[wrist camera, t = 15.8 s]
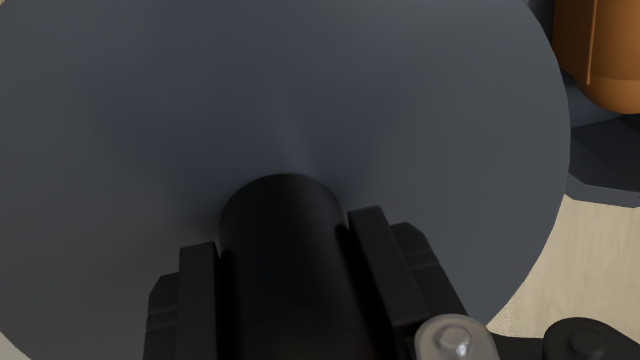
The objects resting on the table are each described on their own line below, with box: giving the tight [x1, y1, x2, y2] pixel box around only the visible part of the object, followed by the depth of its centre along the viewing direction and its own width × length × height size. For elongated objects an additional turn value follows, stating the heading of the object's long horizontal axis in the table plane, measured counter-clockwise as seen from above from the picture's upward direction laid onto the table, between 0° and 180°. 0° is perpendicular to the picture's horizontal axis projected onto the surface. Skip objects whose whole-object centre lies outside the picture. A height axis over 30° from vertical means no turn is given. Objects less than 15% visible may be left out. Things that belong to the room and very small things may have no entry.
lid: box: [0, 0, 571, 360], centre depth 12 cm, size 15×15×7 cm
